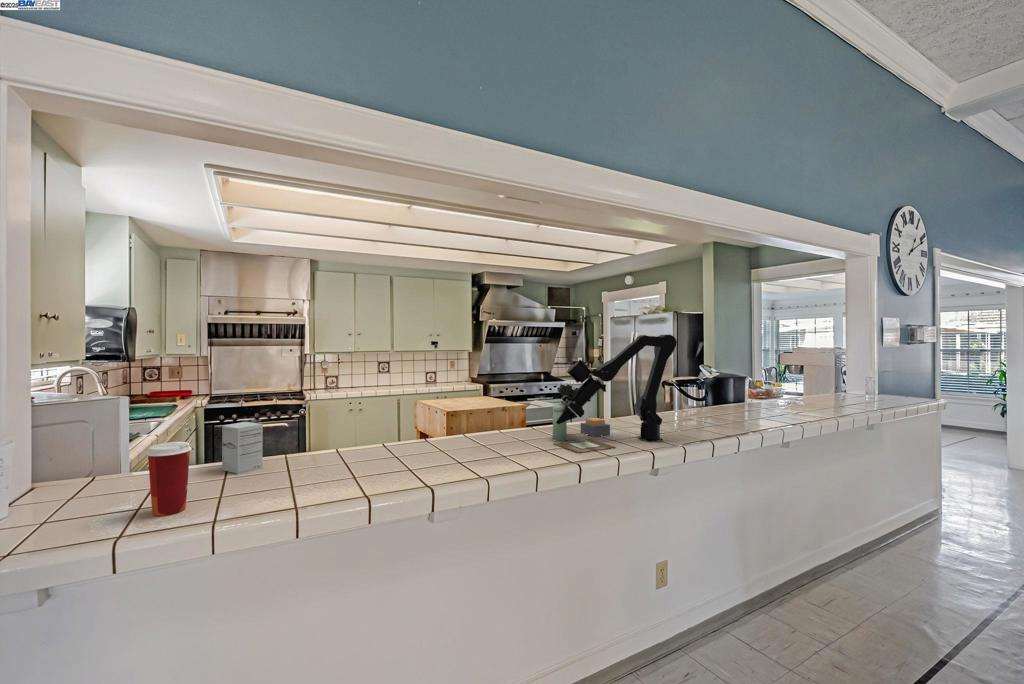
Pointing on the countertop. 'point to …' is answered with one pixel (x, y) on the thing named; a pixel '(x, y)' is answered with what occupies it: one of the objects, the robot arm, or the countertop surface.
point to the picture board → (584, 445)
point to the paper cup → (168, 477)
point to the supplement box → (242, 447)
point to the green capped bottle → (561, 428)
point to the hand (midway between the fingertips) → (555, 421)
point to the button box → (595, 429)
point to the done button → (595, 421)
